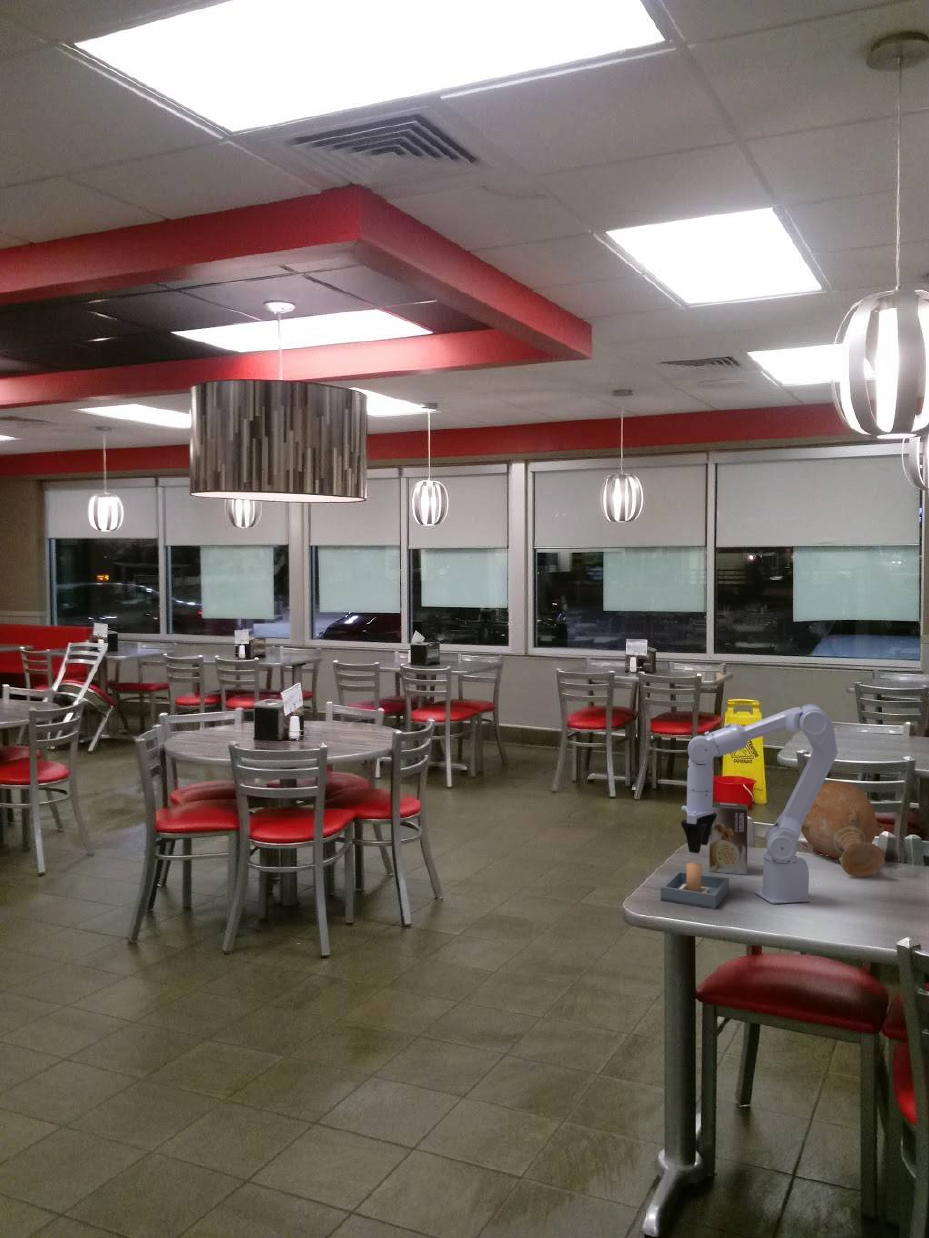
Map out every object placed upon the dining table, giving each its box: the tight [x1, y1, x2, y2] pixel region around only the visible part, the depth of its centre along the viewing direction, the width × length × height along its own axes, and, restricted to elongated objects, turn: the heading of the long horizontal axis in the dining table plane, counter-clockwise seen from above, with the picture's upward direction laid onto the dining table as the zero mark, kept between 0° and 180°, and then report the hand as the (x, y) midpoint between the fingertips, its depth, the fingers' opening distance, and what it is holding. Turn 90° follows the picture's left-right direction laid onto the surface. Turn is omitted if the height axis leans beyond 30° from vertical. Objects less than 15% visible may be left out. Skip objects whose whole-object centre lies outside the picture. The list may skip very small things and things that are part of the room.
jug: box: [801, 781, 886, 879], centre depth 260 cm, size 20×19×30 cm
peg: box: [686, 862, 702, 892], centre depth 230 cm, size 3×3×7 cm
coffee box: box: [708, 801, 749, 876], centre depth 252 cm, size 9×6×16 cm
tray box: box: [660, 870, 730, 910], centre depth 232 cm, size 14×12×3 cm
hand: (698, 848), depth 235 cm, fingers open, 7 cm apart
